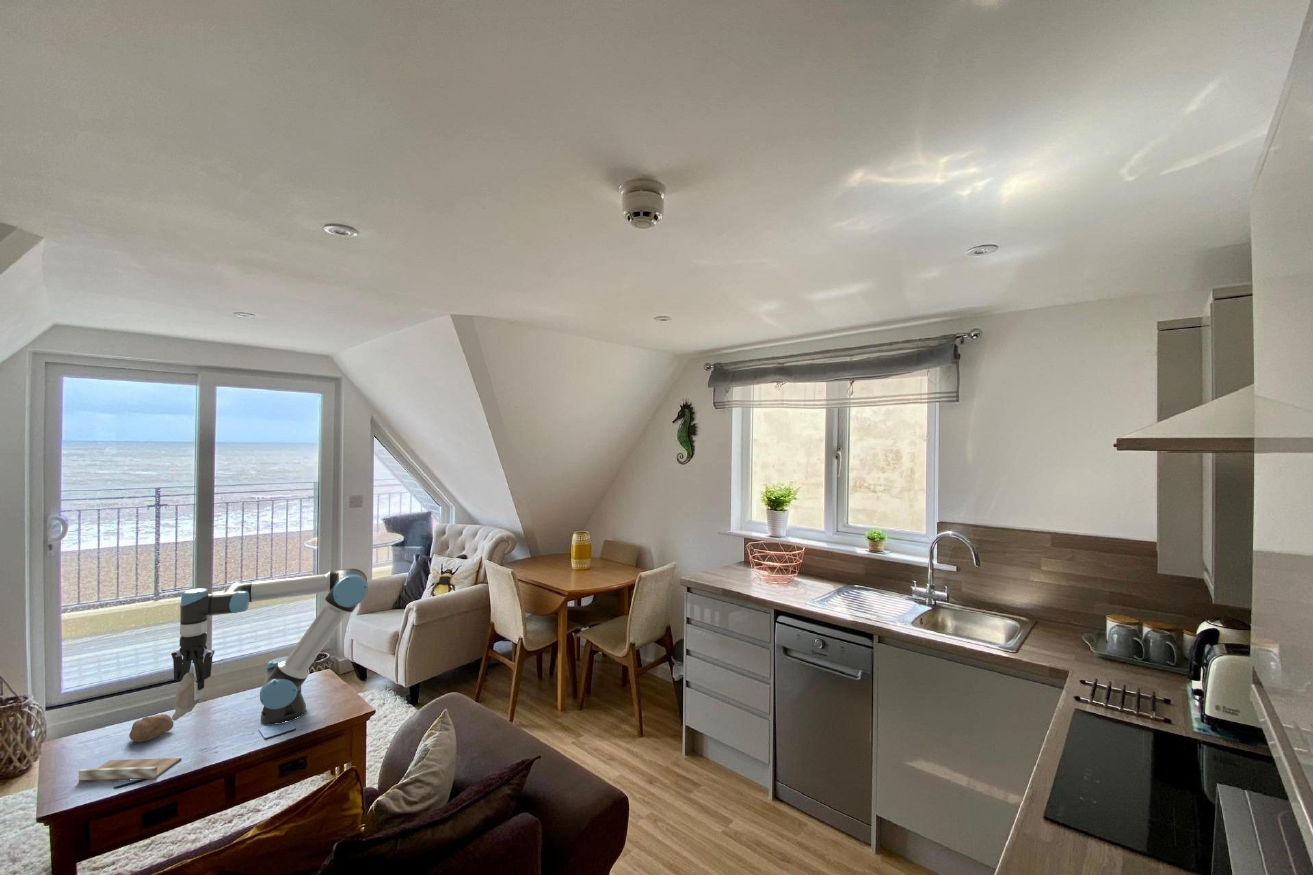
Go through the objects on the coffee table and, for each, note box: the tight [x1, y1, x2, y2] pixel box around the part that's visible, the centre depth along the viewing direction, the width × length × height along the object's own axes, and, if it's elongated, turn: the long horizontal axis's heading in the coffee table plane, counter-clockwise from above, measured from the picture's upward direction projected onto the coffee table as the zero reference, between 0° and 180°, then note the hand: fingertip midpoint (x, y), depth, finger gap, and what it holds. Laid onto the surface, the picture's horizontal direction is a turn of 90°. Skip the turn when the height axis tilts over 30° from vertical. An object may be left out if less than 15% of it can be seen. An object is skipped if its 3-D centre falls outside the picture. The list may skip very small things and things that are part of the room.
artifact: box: [171, 672, 201, 722], centre depth 194 cm, size 9×3×15 cm, turn 168°
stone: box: [128, 713, 174, 743], centre depth 204 cm, size 12×9×10 cm
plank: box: [78, 757, 182, 784], centre depth 182 cm, size 23×11×4 cm, turn 94°
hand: (191, 698), depth 196 cm, fingers closed on artifact, 3 cm apart
